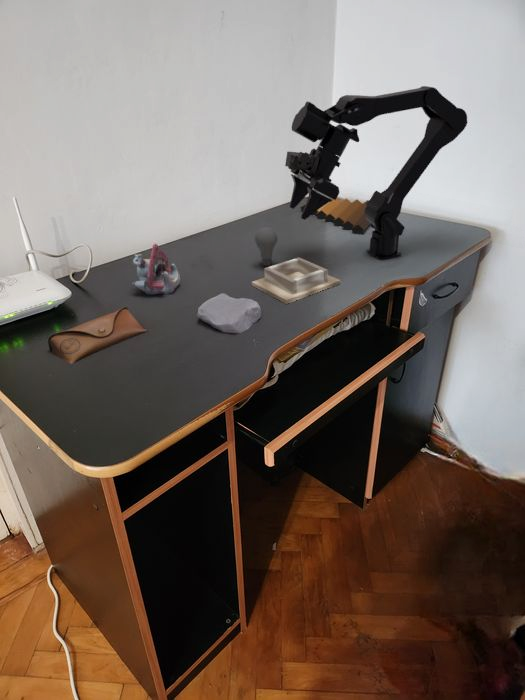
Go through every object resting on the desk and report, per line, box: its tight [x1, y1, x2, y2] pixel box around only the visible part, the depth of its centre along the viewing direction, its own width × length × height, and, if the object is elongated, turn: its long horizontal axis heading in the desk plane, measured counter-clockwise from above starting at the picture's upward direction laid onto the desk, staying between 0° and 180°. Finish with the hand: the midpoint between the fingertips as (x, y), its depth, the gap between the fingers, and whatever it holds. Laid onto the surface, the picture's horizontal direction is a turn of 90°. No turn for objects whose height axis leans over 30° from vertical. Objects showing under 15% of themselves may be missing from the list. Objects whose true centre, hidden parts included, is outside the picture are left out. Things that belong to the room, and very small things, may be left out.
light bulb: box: [254, 226, 278, 267], centre depth 133 cm, size 6×6×10 cm
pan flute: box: [299, 197, 370, 236], centre depth 166 cm, size 25×3×25 cm
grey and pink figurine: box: [131, 243, 182, 296], centre depth 124 cm, size 11×11×12 cm
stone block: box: [197, 293, 262, 334], centre depth 111 cm, size 12×5×10 cm
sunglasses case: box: [47, 306, 148, 365], centre depth 106 cm, size 18×7×7 cm
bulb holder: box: [251, 257, 341, 305], centre depth 124 cm, size 16×13×4 cm
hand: (296, 213), depth 128 cm, fingers open, 9 cm apart
